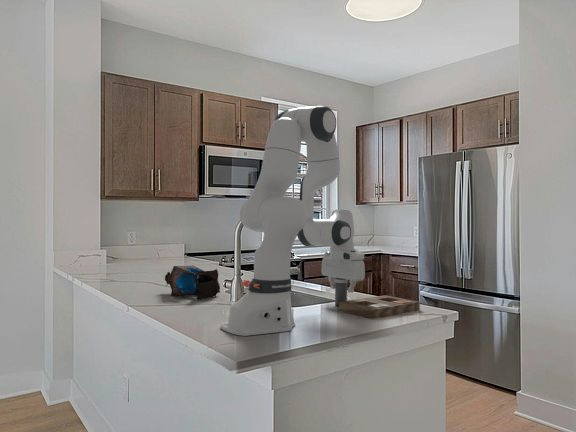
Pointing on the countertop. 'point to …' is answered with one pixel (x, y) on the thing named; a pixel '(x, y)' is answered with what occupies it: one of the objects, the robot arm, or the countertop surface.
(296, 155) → the robot arm
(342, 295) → the plug
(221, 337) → the countertop surface
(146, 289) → the countertop surface
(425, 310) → the countertop surface
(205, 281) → the lantern
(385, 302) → the socket plate
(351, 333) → the countertop surface
